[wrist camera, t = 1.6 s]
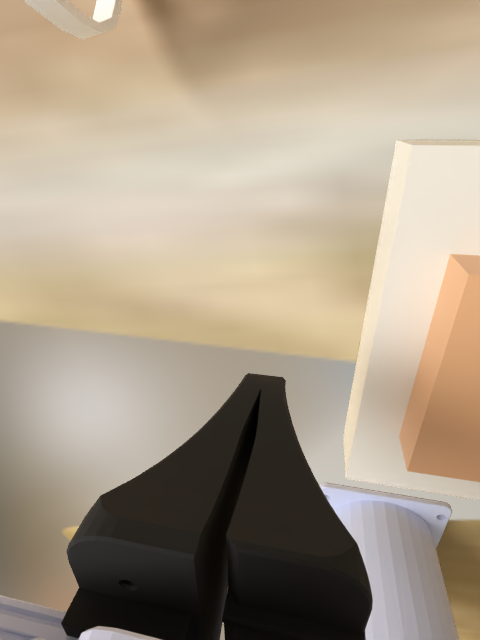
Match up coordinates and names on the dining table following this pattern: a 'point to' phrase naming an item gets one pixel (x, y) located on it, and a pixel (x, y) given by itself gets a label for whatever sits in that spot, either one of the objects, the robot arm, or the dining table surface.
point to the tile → (448, 382)
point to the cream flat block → (409, 303)
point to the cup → (79, 16)
